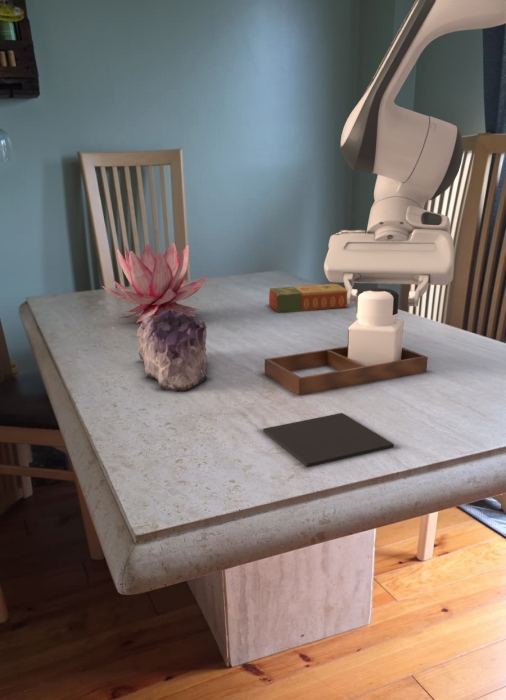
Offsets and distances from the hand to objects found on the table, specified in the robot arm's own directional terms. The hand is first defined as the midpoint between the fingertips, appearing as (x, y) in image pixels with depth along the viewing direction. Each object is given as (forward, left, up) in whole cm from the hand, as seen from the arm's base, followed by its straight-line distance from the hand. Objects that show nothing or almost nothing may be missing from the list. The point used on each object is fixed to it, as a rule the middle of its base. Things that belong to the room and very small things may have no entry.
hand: (381, 303), depth 97 cm
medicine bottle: (+3, +3, -9) cm, 10 cm away
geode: (+31, -10, -9) cm, 34 cm away
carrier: (+8, +3, -9) cm, 13 cm away
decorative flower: (+23, -48, -9) cm, 54 cm away
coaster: (+24, +24, -9) cm, 35 cm away
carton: (-10, -43, -9) cm, 45 cm away
